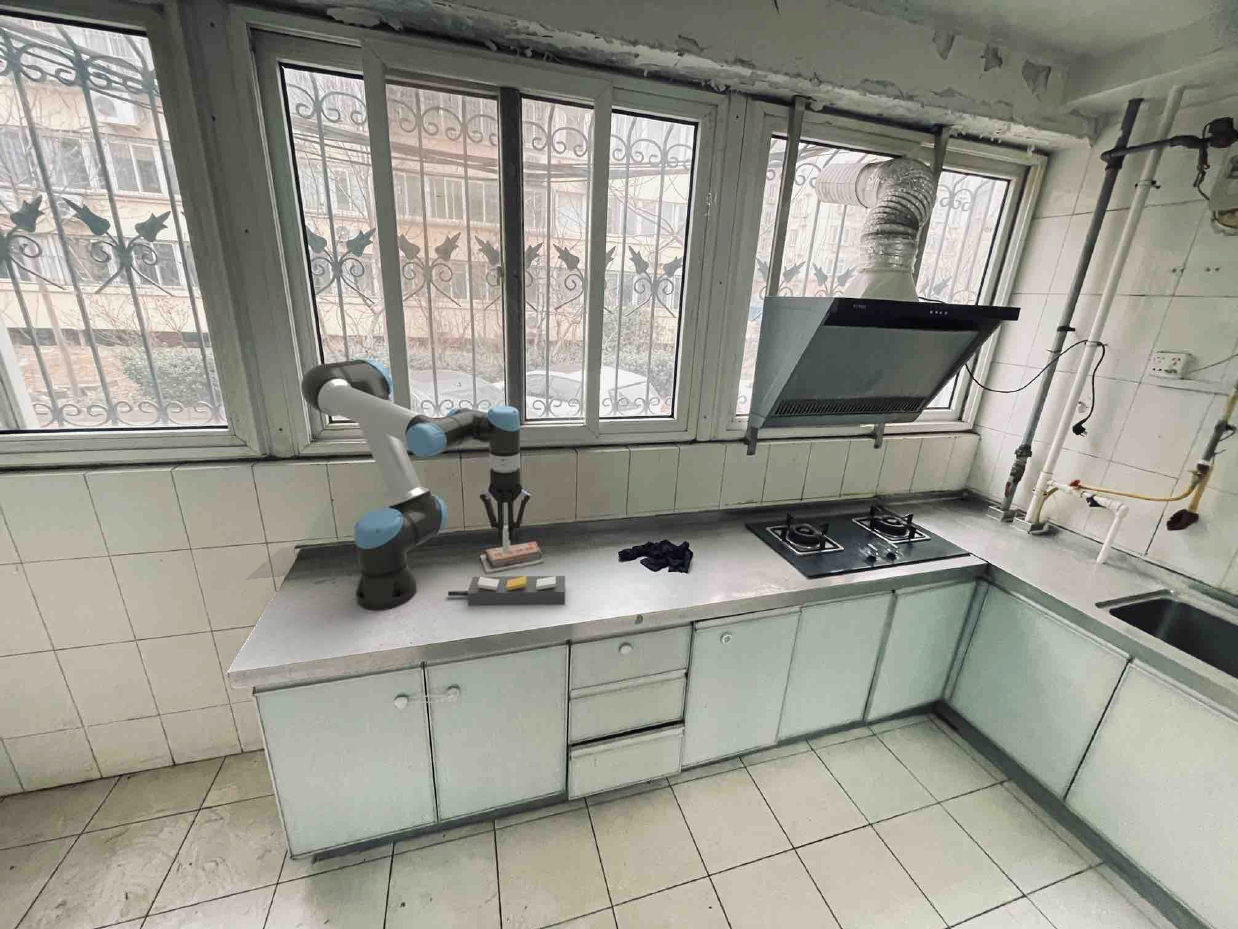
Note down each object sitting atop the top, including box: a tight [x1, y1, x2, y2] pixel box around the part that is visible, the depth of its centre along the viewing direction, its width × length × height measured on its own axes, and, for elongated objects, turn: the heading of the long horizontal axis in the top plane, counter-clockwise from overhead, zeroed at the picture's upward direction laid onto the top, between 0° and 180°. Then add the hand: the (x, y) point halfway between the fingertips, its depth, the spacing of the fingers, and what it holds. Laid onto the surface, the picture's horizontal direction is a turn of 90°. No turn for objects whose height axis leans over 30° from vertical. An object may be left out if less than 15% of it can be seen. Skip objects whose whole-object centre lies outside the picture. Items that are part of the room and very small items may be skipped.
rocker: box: [536, 575, 557, 590], centre depth 135 cm, size 5×4×1 cm
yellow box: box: [506, 575, 527, 591], centre depth 134 cm, size 5×4×1 cm
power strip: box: [447, 575, 566, 607], centre depth 136 cm, size 32×8×4 cm, turn 95°
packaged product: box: [480, 541, 545, 575], centre depth 155 cm, size 18×5×10 cm
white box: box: [477, 576, 499, 590], centre depth 134 cm, size 5×4×1 cm
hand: (506, 550), depth 132 cm, fingers closed
